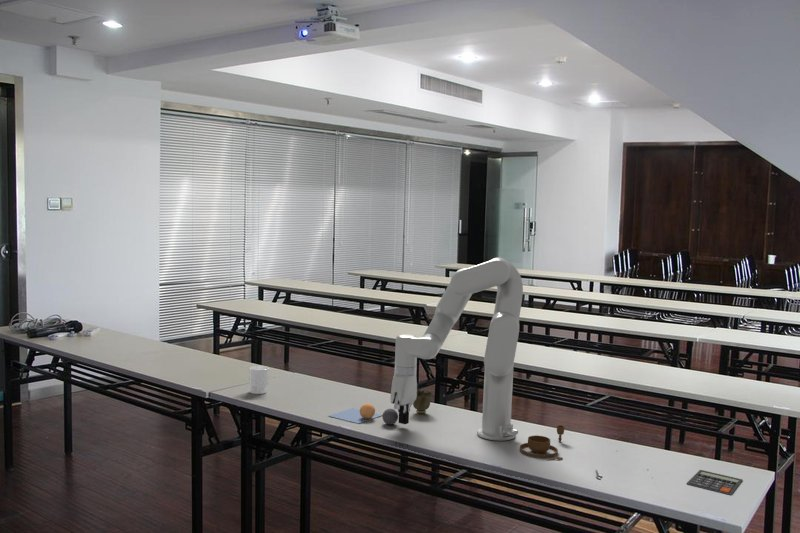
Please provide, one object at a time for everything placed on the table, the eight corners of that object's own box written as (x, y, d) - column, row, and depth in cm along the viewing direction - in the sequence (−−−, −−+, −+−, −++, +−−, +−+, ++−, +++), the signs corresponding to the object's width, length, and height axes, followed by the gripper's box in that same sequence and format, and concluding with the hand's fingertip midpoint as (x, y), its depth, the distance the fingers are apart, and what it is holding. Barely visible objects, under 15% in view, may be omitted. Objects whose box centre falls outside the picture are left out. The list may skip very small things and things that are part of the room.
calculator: (686, 482, 194) (700, 469, 206) (686, 486, 194) (699, 472, 206) (731, 493, 187) (742, 478, 199) (730, 497, 187) (742, 482, 199)
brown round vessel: (407, 414, 256) (408, 392, 255) (416, 409, 262) (417, 388, 262) (425, 417, 252) (426, 395, 252) (434, 412, 259) (435, 391, 258)
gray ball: (387, 404, 244) (383, 418, 246) (382, 409, 239) (378, 423, 240) (401, 409, 243) (398, 423, 244) (396, 414, 238) (393, 429, 239)
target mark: (382, 415, 252) (382, 415, 252) (358, 423, 241) (358, 423, 241) (352, 408, 260) (352, 408, 260) (328, 416, 249) (328, 415, 249)
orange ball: (376, 401, 248) (363, 400, 251) (367, 408, 243) (355, 407, 246) (379, 414, 249) (367, 414, 252) (370, 422, 244) (358, 421, 247)
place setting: (507, 446, 224) (508, 428, 224) (560, 441, 231) (560, 424, 231) (536, 464, 208) (537, 445, 208) (592, 458, 215) (593, 440, 215)
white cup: (246, 390, 282) (247, 366, 281) (265, 389, 285) (266, 365, 285) (251, 395, 275) (251, 370, 274) (270, 393, 278) (271, 369, 277)
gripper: (408, 365, 246) (406, 416, 247) (383, 372, 234) (381, 425, 235) (426, 369, 242) (424, 420, 243) (402, 375, 229) (400, 430, 230)
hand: (403, 423), depth 239 cm, fingers closed
